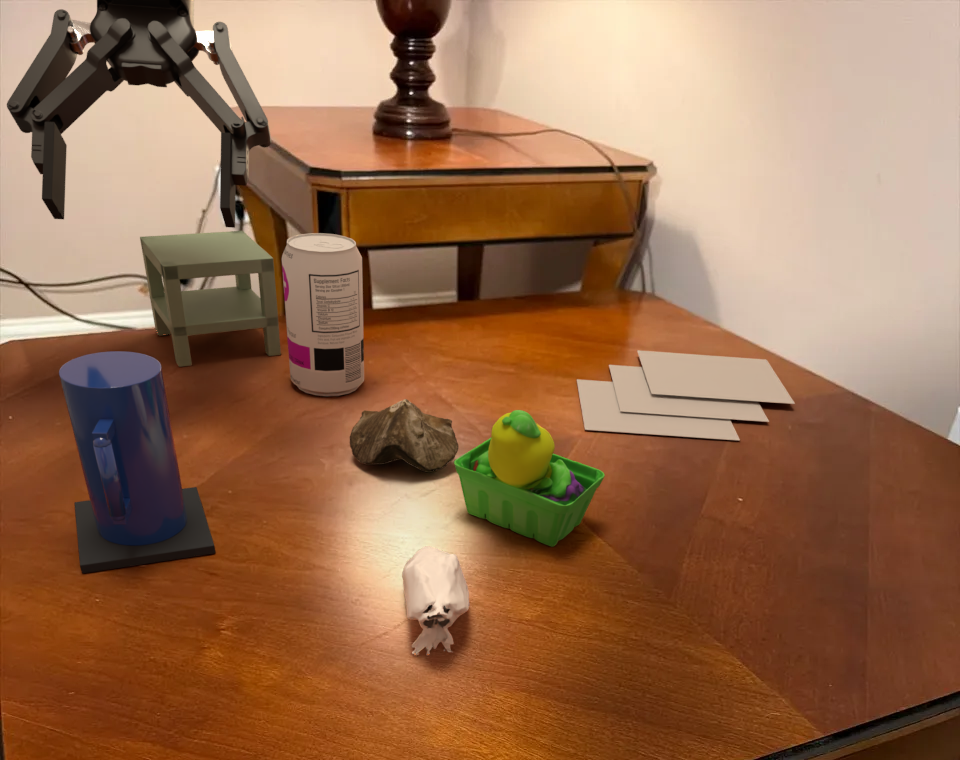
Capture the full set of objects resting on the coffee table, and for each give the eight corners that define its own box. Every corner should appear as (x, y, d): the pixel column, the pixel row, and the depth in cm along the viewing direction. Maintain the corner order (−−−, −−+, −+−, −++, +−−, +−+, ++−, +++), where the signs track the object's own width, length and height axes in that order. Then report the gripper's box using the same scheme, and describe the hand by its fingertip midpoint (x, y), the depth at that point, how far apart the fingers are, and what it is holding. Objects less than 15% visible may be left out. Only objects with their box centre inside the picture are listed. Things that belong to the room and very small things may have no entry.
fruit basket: (600, 522, 77) (621, 402, 70) (551, 566, 71) (569, 439, 64) (493, 483, 82) (502, 366, 75) (439, 520, 76) (443, 397, 69)
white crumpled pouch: (483, 661, 63) (460, 560, 69) (476, 604, 58) (451, 499, 64) (417, 674, 63) (399, 572, 69) (403, 618, 58) (384, 512, 63)
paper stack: (816, 446, 93) (819, 439, 92) (584, 429, 92) (585, 423, 92) (765, 364, 111) (766, 359, 111) (571, 350, 110) (572, 345, 110)
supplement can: (279, 391, 95) (267, 246, 86) (308, 365, 101) (300, 228, 92) (349, 403, 94) (344, 257, 85) (374, 376, 100) (372, 237, 91)
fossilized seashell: (472, 431, 85) (383, 424, 89) (450, 386, 79) (357, 380, 83) (448, 496, 82) (358, 485, 86) (424, 454, 77) (328, 445, 80)
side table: (178, 367, 99) (163, 266, 92) (155, 332, 107) (139, 236, 100) (281, 354, 104) (273, 258, 97) (251, 322, 112) (242, 230, 105)
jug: (107, 501, 73) (72, 349, 65) (193, 501, 74) (168, 352, 66) (79, 565, 66) (35, 402, 58) (174, 564, 67) (144, 404, 59)
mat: (76, 510, 74) (74, 501, 73) (197, 494, 77) (196, 486, 76) (82, 573, 66) (79, 565, 66) (215, 553, 70) (214, 545, 69)
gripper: (302, 22, 78) (302, 246, 75) (8, 0, 75) (-2, 232, 72) (294, -53, 70) (293, 193, 68) (-33, -81, 67) (-45, 175, 65)
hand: (141, 214), depth 70 cm, fingers open, 13 cm apart
